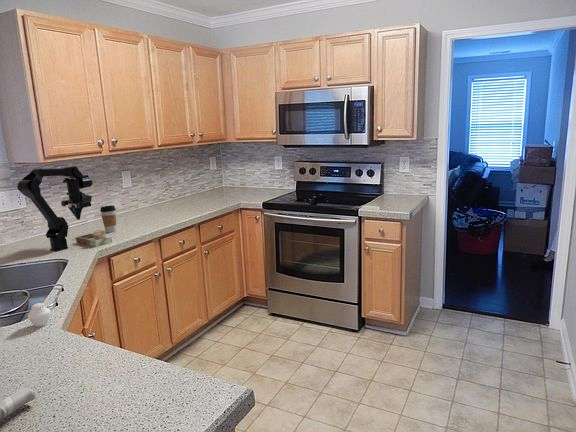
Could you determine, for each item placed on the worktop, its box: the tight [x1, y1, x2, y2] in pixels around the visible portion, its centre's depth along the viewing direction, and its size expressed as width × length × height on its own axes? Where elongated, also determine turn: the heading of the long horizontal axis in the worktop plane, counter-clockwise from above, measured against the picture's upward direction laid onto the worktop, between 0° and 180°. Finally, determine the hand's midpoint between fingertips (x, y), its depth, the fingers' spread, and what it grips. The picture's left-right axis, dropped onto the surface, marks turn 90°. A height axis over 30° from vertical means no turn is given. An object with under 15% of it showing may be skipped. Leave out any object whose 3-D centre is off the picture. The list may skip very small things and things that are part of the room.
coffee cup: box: [99, 205, 117, 234], centre depth 250 cm, size 8×8×15 cm
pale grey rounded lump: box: [27, 302, 51, 328], centre depth 132 cm, size 6×6×7 cm
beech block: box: [93, 229, 107, 240], centre depth 224 cm, size 4×4×4 cm
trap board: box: [75, 233, 113, 248], centre depth 228 cm, size 9×18×3 cm, turn 56°
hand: (78, 219), depth 229 cm, fingers closed
